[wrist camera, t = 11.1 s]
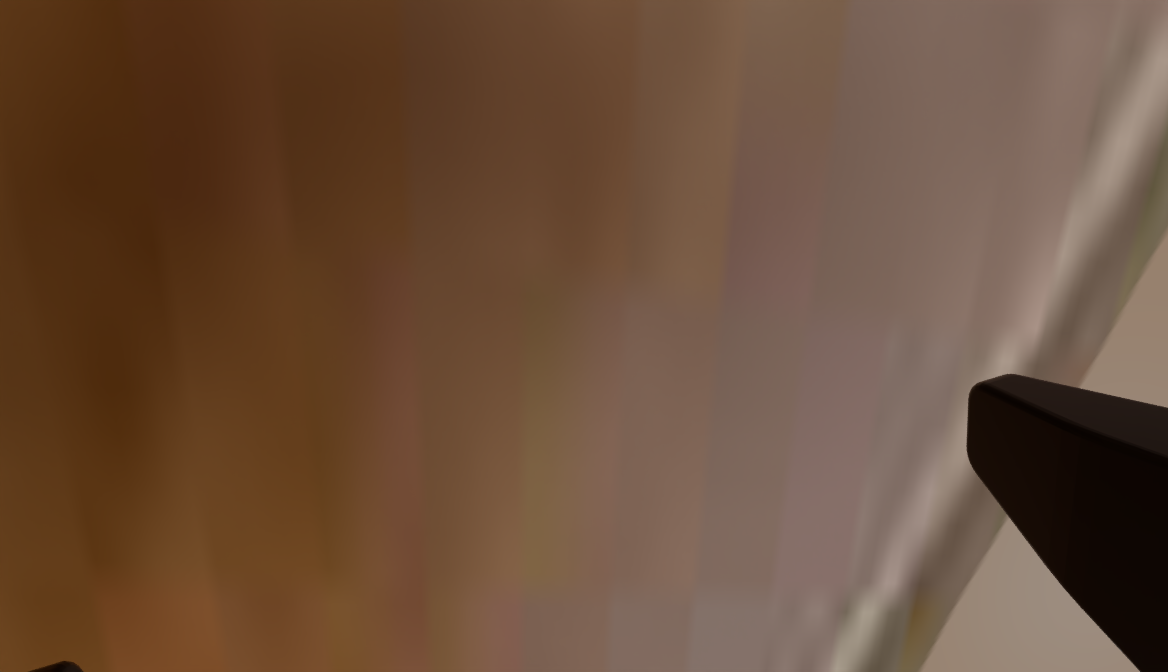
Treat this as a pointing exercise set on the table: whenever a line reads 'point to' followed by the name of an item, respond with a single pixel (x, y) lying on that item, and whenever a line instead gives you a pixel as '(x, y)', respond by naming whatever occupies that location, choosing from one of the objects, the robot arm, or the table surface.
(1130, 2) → the table surface
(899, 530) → the table surface
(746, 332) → the table surface
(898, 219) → the table surface
